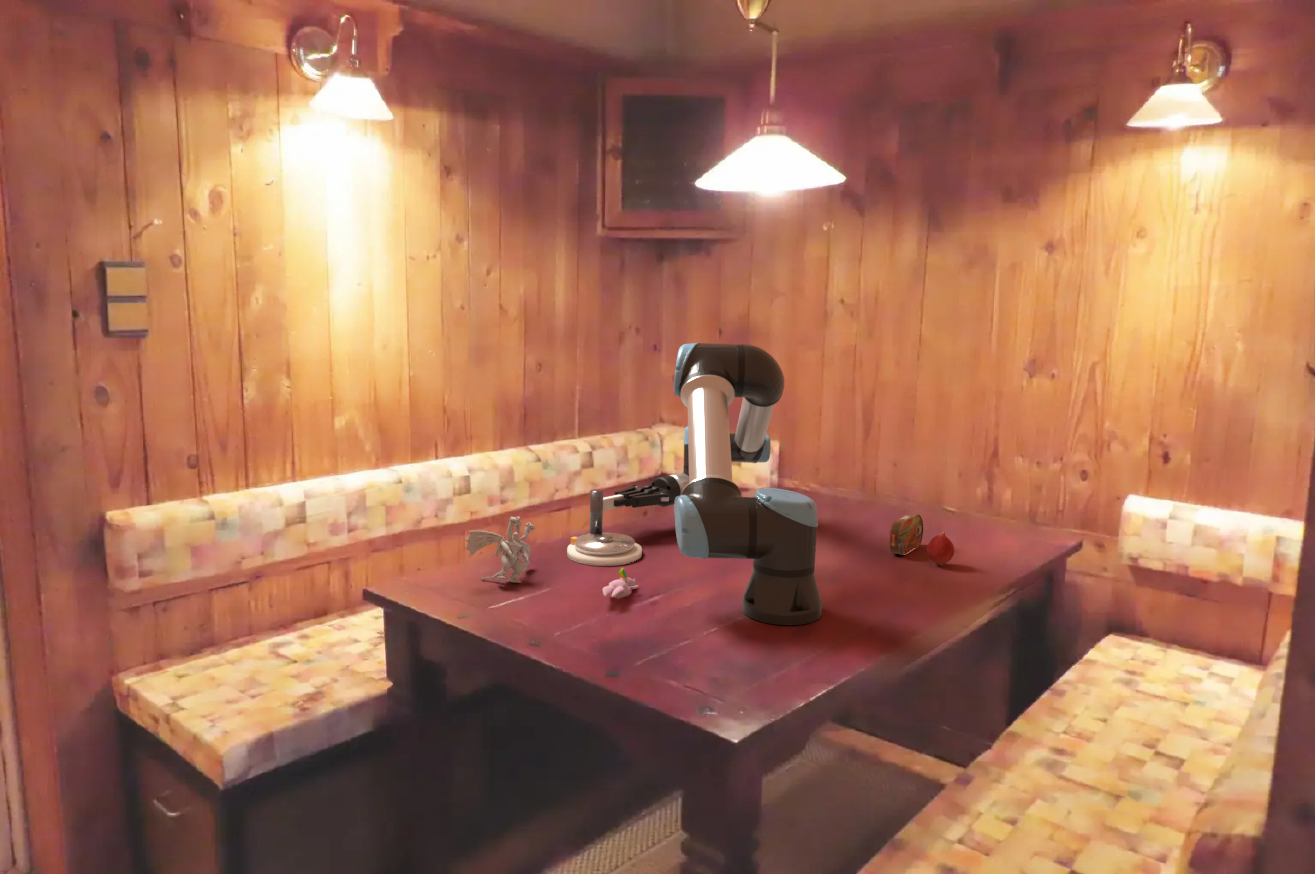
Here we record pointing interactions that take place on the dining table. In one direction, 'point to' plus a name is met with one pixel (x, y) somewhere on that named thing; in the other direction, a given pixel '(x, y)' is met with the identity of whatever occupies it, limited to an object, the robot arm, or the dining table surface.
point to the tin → (906, 534)
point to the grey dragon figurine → (505, 548)
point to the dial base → (603, 560)
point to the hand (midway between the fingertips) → (601, 504)
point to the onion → (940, 549)
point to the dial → (602, 533)
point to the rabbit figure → (620, 586)
